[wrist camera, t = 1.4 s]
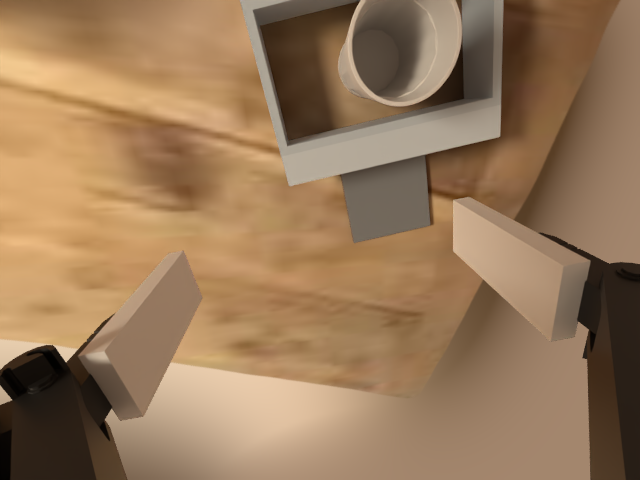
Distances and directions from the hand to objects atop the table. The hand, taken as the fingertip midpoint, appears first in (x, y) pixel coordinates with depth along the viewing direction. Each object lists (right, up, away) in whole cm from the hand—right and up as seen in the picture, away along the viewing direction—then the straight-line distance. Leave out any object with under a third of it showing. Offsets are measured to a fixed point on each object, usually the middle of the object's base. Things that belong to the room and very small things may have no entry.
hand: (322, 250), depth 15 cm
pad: (+8, +6, +23) cm, 25 cm away
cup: (+5, +19, +17) cm, 26 cm away
